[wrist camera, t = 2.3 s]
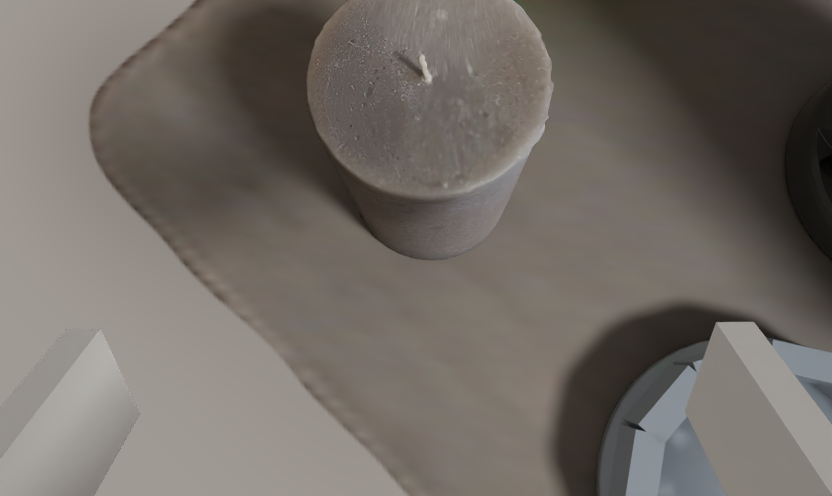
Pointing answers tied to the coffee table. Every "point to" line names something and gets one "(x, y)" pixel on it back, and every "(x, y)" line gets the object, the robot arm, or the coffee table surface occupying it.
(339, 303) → the coffee table surface
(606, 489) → the candle dish
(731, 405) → the robot arm
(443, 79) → the pillar candle
